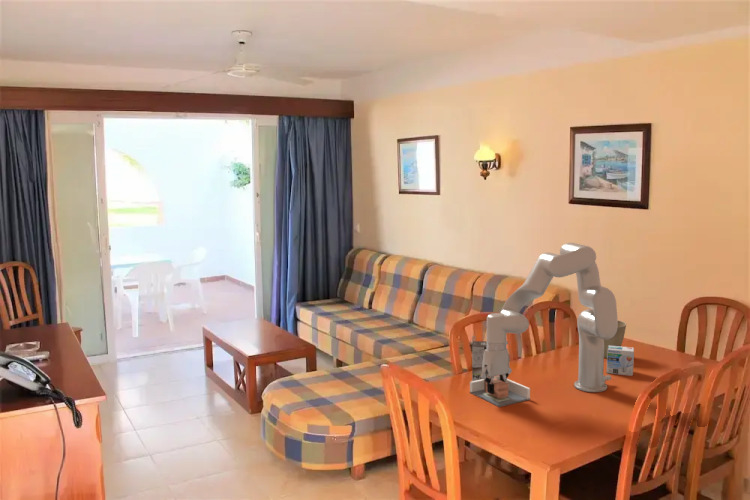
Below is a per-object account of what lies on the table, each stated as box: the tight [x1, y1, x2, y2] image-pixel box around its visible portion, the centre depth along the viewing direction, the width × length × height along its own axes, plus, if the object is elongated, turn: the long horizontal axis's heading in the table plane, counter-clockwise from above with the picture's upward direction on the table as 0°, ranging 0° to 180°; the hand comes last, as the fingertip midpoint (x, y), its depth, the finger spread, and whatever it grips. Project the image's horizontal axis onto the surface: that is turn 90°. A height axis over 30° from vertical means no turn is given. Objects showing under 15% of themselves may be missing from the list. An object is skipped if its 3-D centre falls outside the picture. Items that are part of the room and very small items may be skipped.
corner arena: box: [469, 375, 531, 408], centre depth 251 cm, size 15×18×4 cm
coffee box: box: [471, 340, 487, 381], centre depth 268 cm, size 9×6×16 cm
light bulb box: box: [606, 345, 635, 377], centre depth 276 cm, size 11×7×11 cm, turn 68°
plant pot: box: [603, 320, 627, 359], centre depth 299 cm, size 15×15×16 cm
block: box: [484, 378, 508, 398], centre depth 248 cm, size 9×4×5 cm, turn 28°
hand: (496, 391), depth 249 cm, fingers open, 4 cm apart
